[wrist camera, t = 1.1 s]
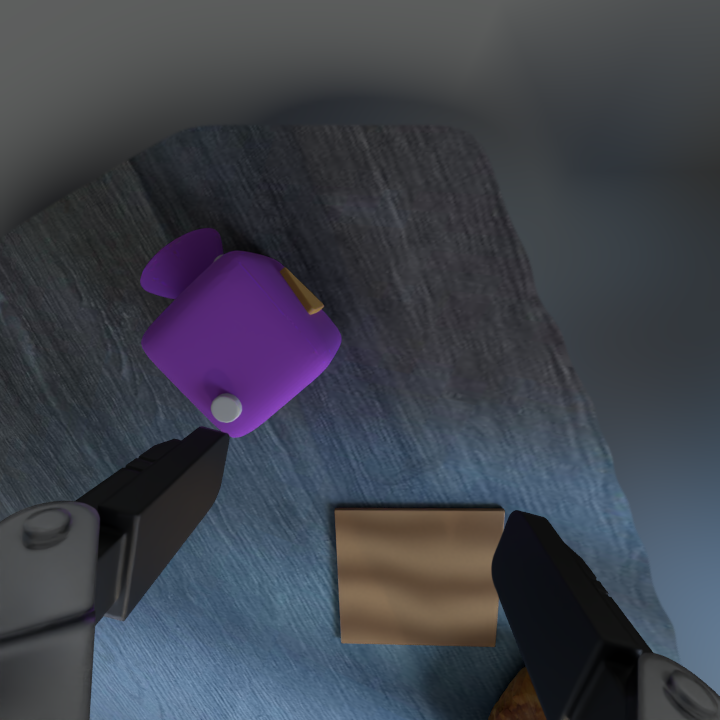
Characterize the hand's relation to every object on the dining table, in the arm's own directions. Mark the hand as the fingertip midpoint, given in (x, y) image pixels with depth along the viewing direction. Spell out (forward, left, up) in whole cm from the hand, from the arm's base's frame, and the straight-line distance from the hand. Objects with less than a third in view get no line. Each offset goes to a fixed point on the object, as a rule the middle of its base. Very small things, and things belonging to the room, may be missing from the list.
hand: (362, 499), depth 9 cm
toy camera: (-1, -10, -21) cm, 23 cm away
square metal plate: (+21, +10, -21) cm, 32 cm away
